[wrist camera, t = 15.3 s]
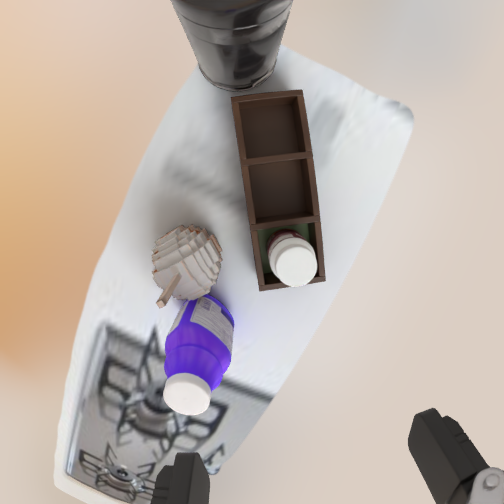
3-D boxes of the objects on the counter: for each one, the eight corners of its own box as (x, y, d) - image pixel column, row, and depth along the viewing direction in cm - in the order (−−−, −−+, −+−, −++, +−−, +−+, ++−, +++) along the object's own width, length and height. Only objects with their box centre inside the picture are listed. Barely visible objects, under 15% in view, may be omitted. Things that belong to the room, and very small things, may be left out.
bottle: (174, 309, 40) (134, 391, 23) (202, 281, 39) (173, 357, 22) (213, 343, 41) (198, 435, 25) (242, 318, 40) (241, 407, 24)
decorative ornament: (150, 242, 38) (100, 283, 23) (203, 213, 37) (176, 239, 22) (180, 293, 39) (149, 357, 25) (233, 268, 39) (226, 324, 24)
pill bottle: (311, 253, 37) (329, 275, 29) (278, 272, 38) (286, 299, 30) (293, 219, 36) (307, 233, 28) (258, 239, 37) (262, 259, 29)
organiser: (232, 106, 34) (230, 97, 29) (295, 99, 34) (302, 89, 29) (257, 277, 39) (259, 291, 34) (316, 268, 39) (325, 281, 34)
